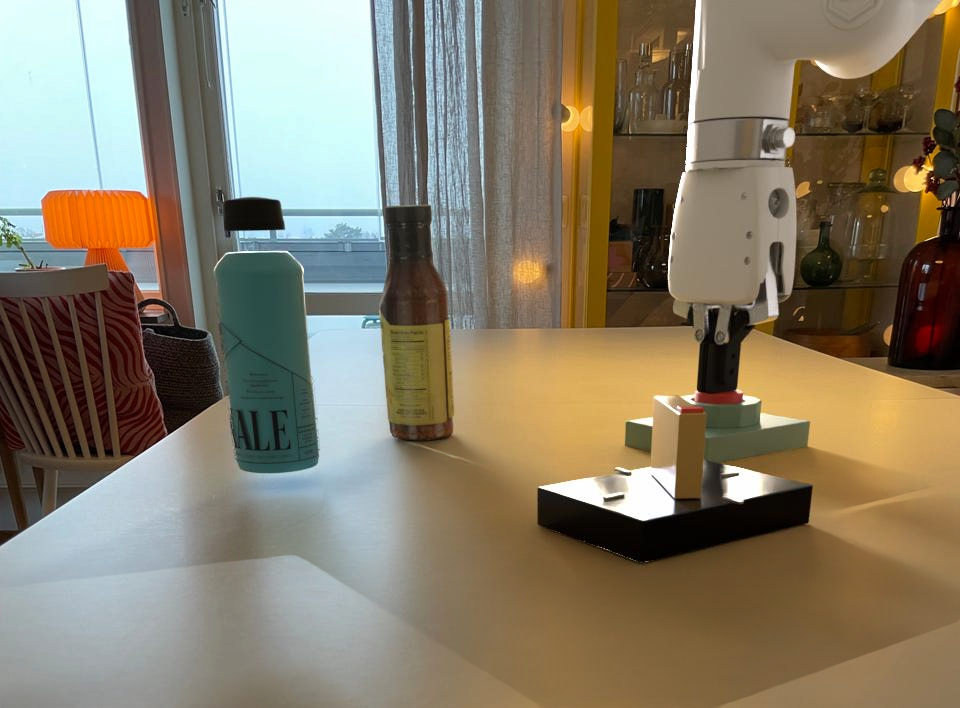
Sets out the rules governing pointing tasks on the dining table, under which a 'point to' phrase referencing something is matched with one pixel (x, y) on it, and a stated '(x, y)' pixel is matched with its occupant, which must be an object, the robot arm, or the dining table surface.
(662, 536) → the dial base
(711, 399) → the button
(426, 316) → the sauce bottle
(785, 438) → the button block
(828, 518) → the dining table surface
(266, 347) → the beverage bottle
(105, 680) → the dining table surface
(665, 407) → the tan rectangular block
